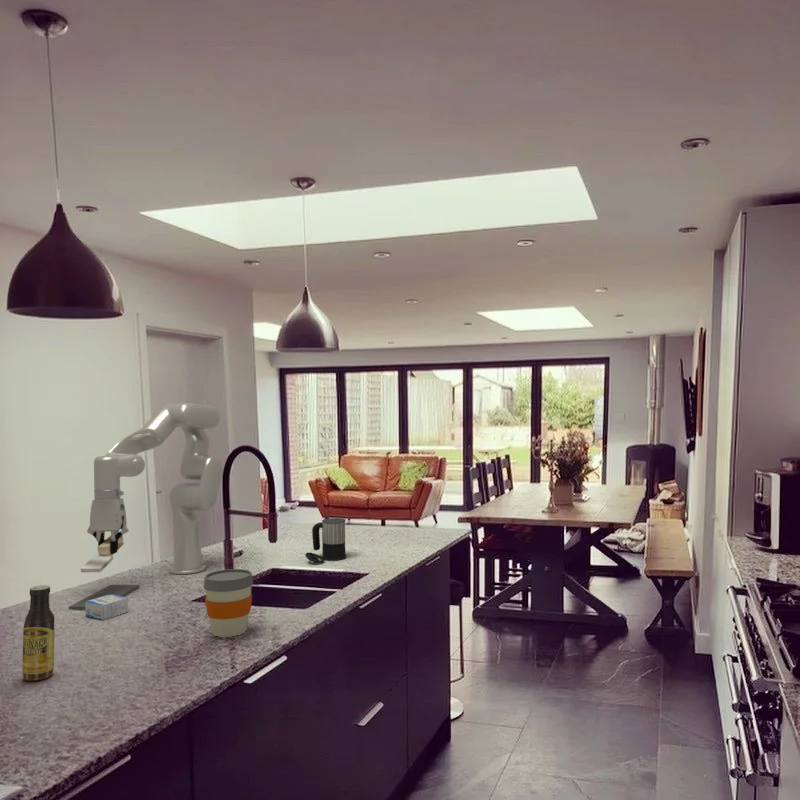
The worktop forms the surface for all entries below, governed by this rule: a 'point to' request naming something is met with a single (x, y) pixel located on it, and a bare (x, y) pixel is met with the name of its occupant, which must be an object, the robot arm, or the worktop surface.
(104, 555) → the beige curved piece
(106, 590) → the mat
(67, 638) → the worktop surface
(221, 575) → the reusable coffee cup
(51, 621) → the sauce bottle
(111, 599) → the medicine box
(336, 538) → the milk frother
